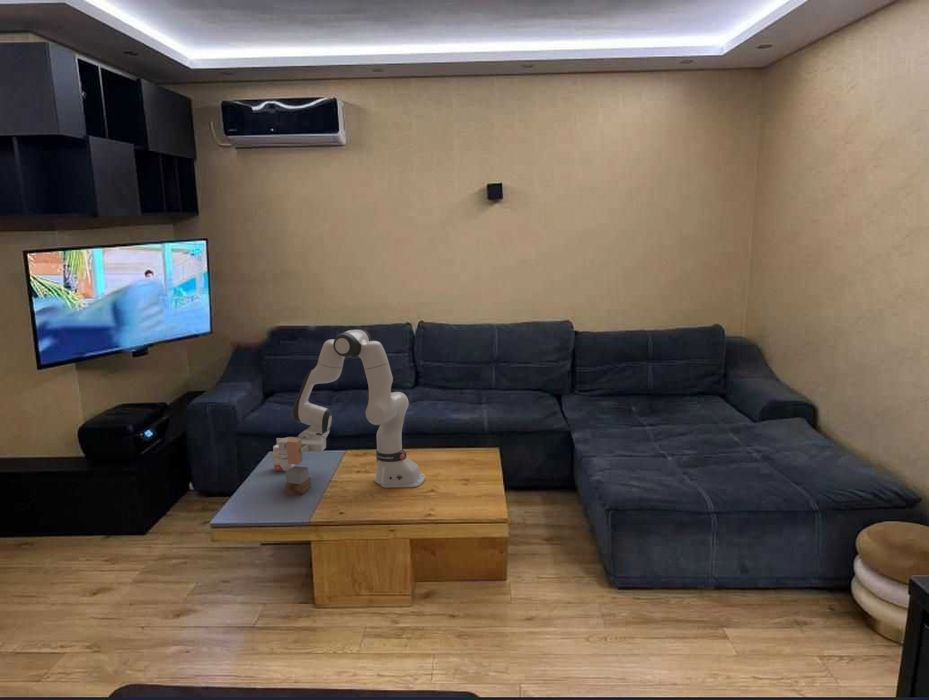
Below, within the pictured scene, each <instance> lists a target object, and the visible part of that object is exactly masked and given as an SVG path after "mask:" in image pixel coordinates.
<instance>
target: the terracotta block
mask: <svg viewBox="0 0 929 700" xmlns="http://www.w3.org/2000/svg"><path fill="white" fill-rule="evenodd" d="M300 448H302V444H301V439H296V438H291V439H290V440H288V441H287V455H288V464H295V466H297V465H299V464H300V463H302V462H303V453H299V449H300Z"/></svg>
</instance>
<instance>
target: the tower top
mask: <svg viewBox="0 0 929 700" xmlns="http://www.w3.org/2000/svg"><path fill="white" fill-rule="evenodd" d="M309 473H310V472H309V466H297V465H295V466H293V467H292V468H290V469H289V470H288V471H285V480H286V482H285V483H292V484H302V483H304V482H305V481H306V480H307V479H309V477H310V474H309Z"/></svg>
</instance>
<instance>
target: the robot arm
mask: <svg viewBox="0 0 929 700" xmlns="http://www.w3.org/2000/svg"><path fill="white" fill-rule="evenodd" d="M358 357H359V358H360V360H361V362H362V366H363V369H364V374H365V377H366V380H367V385H368V404H367V406H366V409H365V417H366V420H367V421H368V422H369V423H370V424H372V425H374V426H379V428H378V430H377V432H376V450H375V452H376V453H375V458H376V463H377V464H376V472H375V478H374V483H376V484H377V485H380V486H381V488H386V489H387V488H388V489H389V488H416V487H420V486H421V485H423V483H424V482H425V481H426V476H425V474H424V473H422V472H421V471H420V470H421V469H420V468H419V464H417V463H416V462H414V461H413V460H411V459H410V458H409V457H407V453H408V450H407V449H406V450H404V448H403V443H402V438H403V437H402V434H403V433H402V432H403V425H404V421H405V416H406V413H407V409H408V408H409V404H410V403H409V399H408V396H407V395H406V394H405V393H403V392H402V391H394V392H392V385H393V382H394V377H393V374H392V369H391V367H390V366H391V365H390V362H389V359H388V356H387V353H386V350H385V348H384V346H383V344H382V343H381V342H380V341H377V340H372V337H371V335H370V333H369V332H368V331H367V330H365V329H362V328H355V329H349V330H347V331H343V332H341V333H339V334H338V335H337V336H336V337H335V338H334V339H333V338H332V339H327V340H326V341H325V342H324V343H323V345H322V347H321V350H320V354H319V356H318V361H317V364H316V366H315V367H314V368H312V369H310V370H309V371H308V373H306V376H305V378H304V380H303V382H302V386H301V388H300V390H299V392H298V393H299V394H298V396H297V398H296V400H295V402H294V404H293V406H292V409H291V412H290V415H291V417H292V419H293V420H294V422H297V423H302V424H305V425H308V426H309V427H308V428H307V429H305V430H303V431H302V432H300V433H299V435H297V436H287V437H283V438H284V439H282V440H280V441H279V442H278V446H279V449H283V450H286V452H287V441H288V440H290V439H291V438H296V439H301V444H302V448H300V449H299V453H302V454H303V453H305V452H313V453H320V452H323V451H324V450H325V449H326V448H327V438H328V435H329V434H330V431H331V430H330V429H331V427H332V425H333V413H332V411H331V410H330V409H329V408H327V407H324V406H321V405H318V404H314V403H311V402H310V401H309V399H310V396H311V393H312V391H313V387H314V386H315V385H318V384H329V383H333V382H335V381H336V380H338V379H339V378H340V376H341V375H342V371H343V367H344V361H345V359H346V358H358Z"/></svg>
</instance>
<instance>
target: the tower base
mask: <svg viewBox="0 0 929 700" xmlns="http://www.w3.org/2000/svg"><path fill="white" fill-rule="evenodd" d="M284 484H285V495H294V494H295V495H298V496H304V495H306V493H308V492H309V490H310V489H311V488H312V481H311V477H310V476H309V479H307V480H306V481H305V482H304V483H302V484H292V483H286V482H285V483H284Z"/></svg>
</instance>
